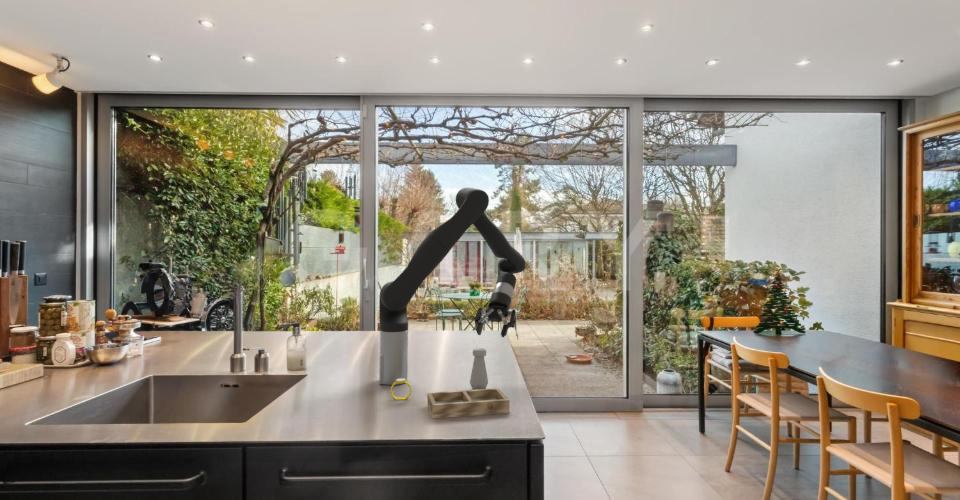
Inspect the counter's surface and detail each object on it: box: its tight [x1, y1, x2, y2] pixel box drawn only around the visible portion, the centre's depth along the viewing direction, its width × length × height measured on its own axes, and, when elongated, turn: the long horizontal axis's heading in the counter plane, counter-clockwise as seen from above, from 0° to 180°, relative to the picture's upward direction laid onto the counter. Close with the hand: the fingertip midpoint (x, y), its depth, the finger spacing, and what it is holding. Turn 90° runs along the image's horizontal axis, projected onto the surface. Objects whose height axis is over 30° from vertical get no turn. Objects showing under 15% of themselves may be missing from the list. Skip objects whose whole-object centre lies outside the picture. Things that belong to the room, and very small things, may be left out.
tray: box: [426, 387, 510, 419], centre depth 131 cm, size 21×11×4 cm, turn 104°
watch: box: [390, 378, 412, 401], centre depth 138 cm, size 6×3×6 cm, turn 97°
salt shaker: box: [469, 347, 489, 390], centre depth 149 cm, size 6×6×13 cm
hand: (490, 334), depth 159 cm, fingers open, 8 cm apart
